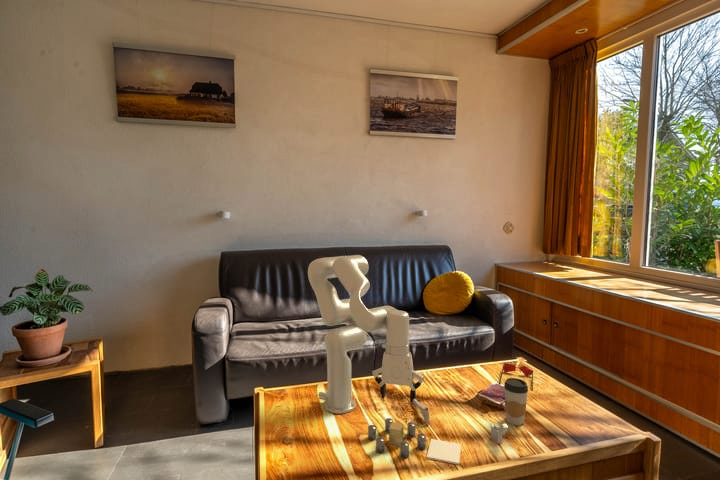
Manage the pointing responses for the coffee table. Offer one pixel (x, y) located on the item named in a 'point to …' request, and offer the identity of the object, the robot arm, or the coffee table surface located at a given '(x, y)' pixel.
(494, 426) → the lighter
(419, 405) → the caliper
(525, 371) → the glasses
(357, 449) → the coffee table surface
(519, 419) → the coffee cup
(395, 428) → the tan rectangular block
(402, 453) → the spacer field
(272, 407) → the coffee table surface
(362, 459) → the coffee table surface
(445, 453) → the coaster
